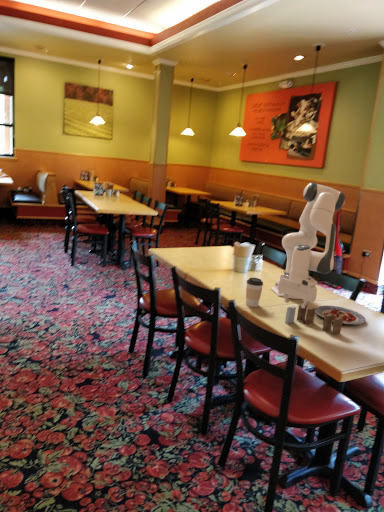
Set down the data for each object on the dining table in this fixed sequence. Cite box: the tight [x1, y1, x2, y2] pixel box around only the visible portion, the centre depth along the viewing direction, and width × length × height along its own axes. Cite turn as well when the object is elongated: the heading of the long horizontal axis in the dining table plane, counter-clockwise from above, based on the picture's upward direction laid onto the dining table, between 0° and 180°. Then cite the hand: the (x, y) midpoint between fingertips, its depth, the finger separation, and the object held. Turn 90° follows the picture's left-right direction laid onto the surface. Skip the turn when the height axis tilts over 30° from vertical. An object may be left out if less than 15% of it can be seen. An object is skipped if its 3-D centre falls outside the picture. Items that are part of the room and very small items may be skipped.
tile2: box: [304, 306, 317, 325], centre depth 210 cm, size 2×5×8 cm, turn 131°
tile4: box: [322, 314, 333, 333], centre depth 203 cm, size 2×5×8 cm, turn 131°
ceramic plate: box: [315, 305, 366, 325], centre depth 223 cm, size 26×26×3 cm
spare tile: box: [284, 305, 297, 325], centre depth 208 cm, size 2×5×8 cm, turn 131°
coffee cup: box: [245, 277, 264, 308], centre depth 228 cm, size 9×9×15 cm
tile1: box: [296, 303, 308, 322], centre depth 214 cm, size 2×5×8 cm, turn 131°
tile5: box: [331, 317, 343, 336], centre depth 199 cm, size 2×5×8 cm, turn 131°
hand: (294, 305), depth 207 cm, fingers open, 8 cm apart
